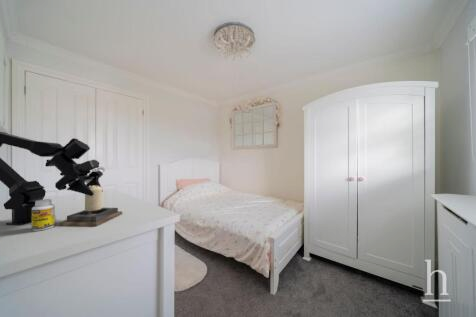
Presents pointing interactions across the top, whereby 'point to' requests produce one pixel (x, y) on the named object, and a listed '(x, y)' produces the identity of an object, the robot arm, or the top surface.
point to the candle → (94, 199)
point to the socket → (91, 217)
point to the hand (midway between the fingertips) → (97, 193)
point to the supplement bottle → (43, 215)
